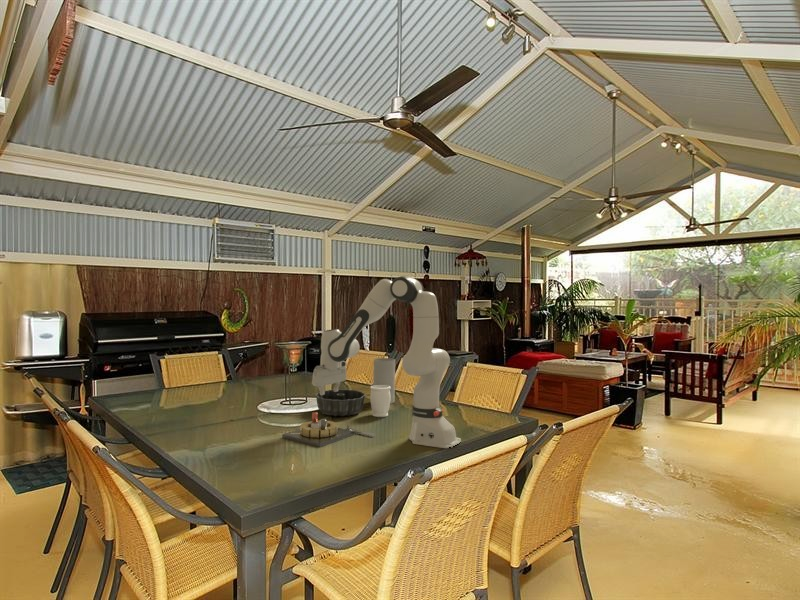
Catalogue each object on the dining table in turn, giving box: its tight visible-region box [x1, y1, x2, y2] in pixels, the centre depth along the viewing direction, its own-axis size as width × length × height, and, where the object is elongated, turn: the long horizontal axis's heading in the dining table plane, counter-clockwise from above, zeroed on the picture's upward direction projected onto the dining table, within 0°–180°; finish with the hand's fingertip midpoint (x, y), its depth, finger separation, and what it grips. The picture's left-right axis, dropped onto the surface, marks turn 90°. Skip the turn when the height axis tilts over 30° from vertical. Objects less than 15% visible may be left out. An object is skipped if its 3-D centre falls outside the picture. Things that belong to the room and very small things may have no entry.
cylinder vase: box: [372, 357, 396, 405], centre depth 277 cm, size 12×12×25 cm
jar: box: [369, 385, 391, 418], centre depth 247 cm, size 11×10×15 cm
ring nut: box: [299, 411, 339, 438], centre depth 208 cm, size 16×16×7 cm
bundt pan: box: [314, 388, 367, 418], centre depth 251 cm, size 26×26×10 cm
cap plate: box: [281, 422, 355, 448], centre depth 208 cm, size 22×22×6 cm
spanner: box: [345, 425, 376, 438], centre depth 213 cm, size 16×3×3 cm, turn 57°
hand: (329, 393), depth 222 cm, fingers open, 8 cm apart
